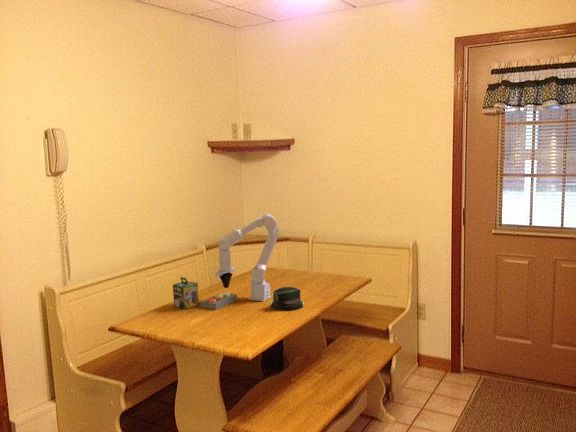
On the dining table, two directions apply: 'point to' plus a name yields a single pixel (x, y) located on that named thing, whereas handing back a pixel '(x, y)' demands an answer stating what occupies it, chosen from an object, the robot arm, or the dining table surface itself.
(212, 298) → the red button
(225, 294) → the sage button
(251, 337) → the dining table surface
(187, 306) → the chalk box
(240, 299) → the dining table surface
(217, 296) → the ochre button
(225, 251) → the robot arm
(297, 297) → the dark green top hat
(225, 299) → the grey compartment tray
